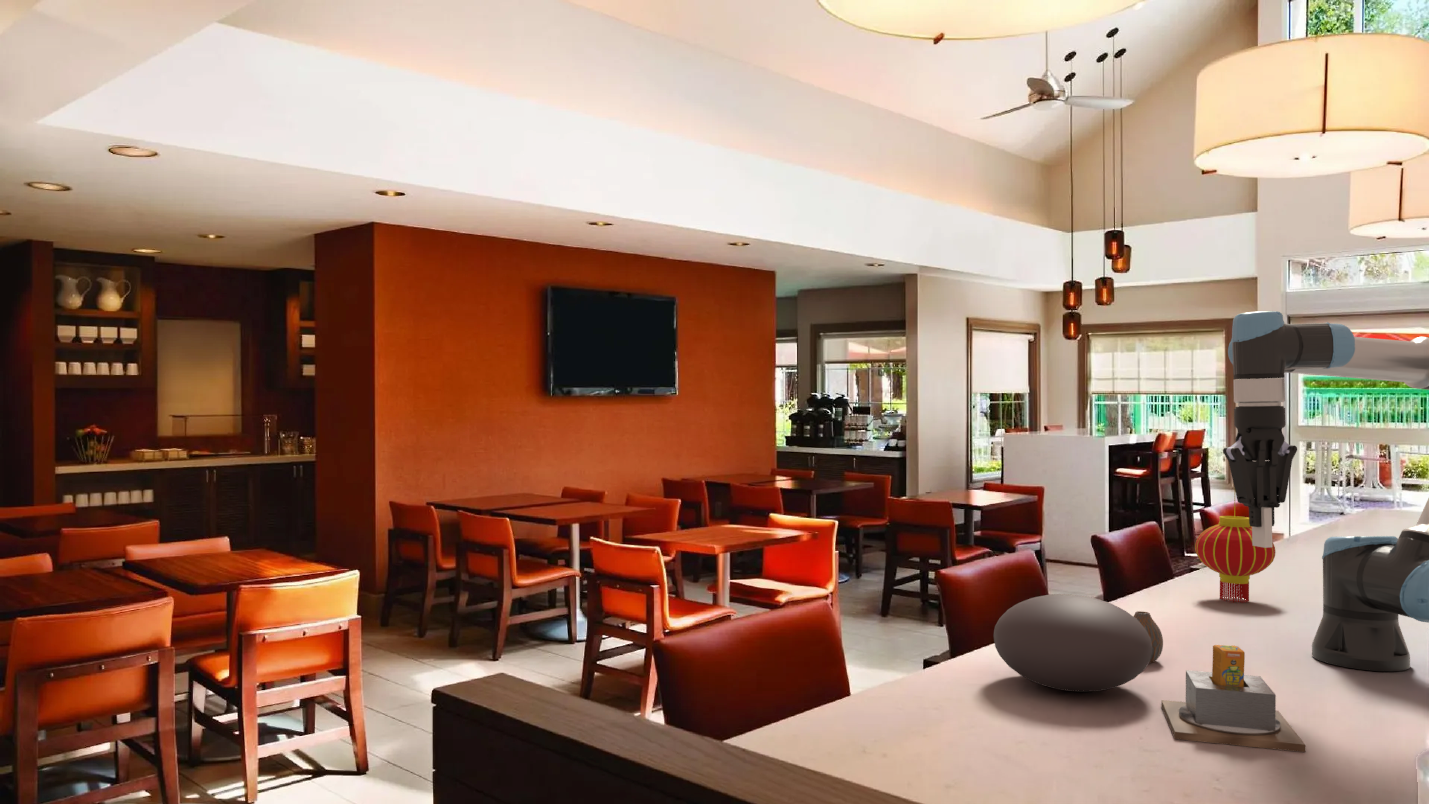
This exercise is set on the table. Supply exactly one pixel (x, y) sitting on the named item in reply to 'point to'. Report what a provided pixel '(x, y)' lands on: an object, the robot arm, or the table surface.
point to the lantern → (1233, 555)
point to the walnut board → (1186, 731)
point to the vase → (1151, 633)
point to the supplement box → (1228, 666)
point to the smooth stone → (1072, 642)
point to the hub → (1230, 705)
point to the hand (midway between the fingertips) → (1262, 546)
